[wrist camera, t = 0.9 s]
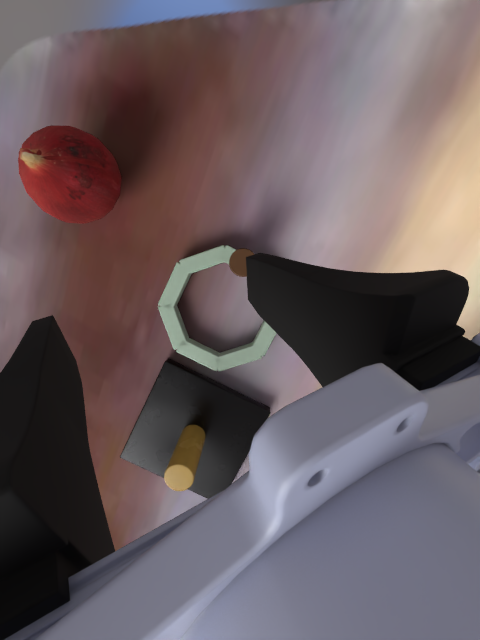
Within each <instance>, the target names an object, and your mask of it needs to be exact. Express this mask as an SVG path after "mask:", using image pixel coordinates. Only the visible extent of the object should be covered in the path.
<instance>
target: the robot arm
mask: <svg viewBox="0 0 480 640" xmlns="http://www.w3.org/2000/svg"><path fill="white" fill-rule="evenodd" d="M246 270H247V288H248V300H249V302H250V303H251V304H252V306H253V307H254V309H255V310H256V311H257V313H258V314H259V315H260V317H261V318H262V319H263V320H264V321H265V322H266V323H267V324H268V325H269V326H270V327H271V328H272V329H273V330H274V331H275V332H276V333H277V334H278V335H279V336H280V337H281V338H282V339H283V340H284V341H285V342H286V343H287V344H288V345H289V346H290V347H291V348H292V349H293V350H294V351H295V352H296V353H297V354H298V356H299V357H300V358H301V359H302V360H303V362H304V363H305V364H306V365H307V367H308V368H309V369H310V371H311V372H312V373H313V374H314V376H315V377H316V379H317V380H318V381H319V383H320V384H321V385H322V387H323V388H321V389H319V390H317V391H315V392H313V393H311V394H309V395H307V396H305V397H303V398H301V399H299V400H297V401H295V402H293V403H291V404H289V405H287V406H285V407H283V408H282V409H281V410H279V411H278V412H276V413H275V414H273V415H272V416H271V417H269V418H268V419H267V420H266V421H265V422H264V424H263V425H262V426H261V427H260V428H259V430H258V431H257V432H256V433H255V435H254V437H253V441H252V444H251V448H250V451H249V455H248V456H249V467H250V470H249V471H248V472H247V473H245V474H244V475H243V476H241V477H240V478H239V479H238V480H236V481H235V482H234V483H233V484H231V485H230V486H229V487H227V488H226V489H225V490H223V491H222V492H220V493H218V494H216V495H214V496H213V497H211V498H209V499H207V500H206V501H204V502H202V503H200V504H198V505H197V506H195V507H193V508H191V509H190V510H188V511H186V512H184V513H182V514H181V515H179V516H177V517H175V518H174V519H172V520H170V521H168V522H167V523H165V524H163V525H161V526H159V527H158V528H156V529H154V530H152V531H151V532H149V533H147V534H145V535H143V536H142V537H140V538H138V539H136V540H135V541H133V542H131V543H129V544H128V545H126V546H124V547H122V548H120V549H119V550H117V551H115V549H114V545H113V542H112V538H111V534H110V531H109V527H108V523H107V519H106V515H105V512H104V508H103V504H102V500H101V496H100V492H99V488H98V484H97V480H96V475H95V471H94V467H93V462H92V458H91V454H90V449H89V443H88V435H87V425H86V416H85V406H84V397H83V388H82V382H81V378H80V374H79V370H78V366H77V363H76V360H75V358H74V356H73V354H72V352H71V350H70V348H69V346H68V344H67V342H66V340H65V338H64V336H63V334H62V332H61V330H60V328H59V326H58V324H57V322H56V320H55V318H54V317H53V315H52V316H49V317H45V318H42V319H39V320H35V321H32V323H31V325H30V326H29V328H28V330H27V331H26V333H25V335H24V337H23V338H22V340H21V342H20V344H19V345H18V347H17V349H16V350H15V352H14V354H13V355H12V357H11V358H10V360H9V362H8V363H7V364H6V366H5V367H4V369H3V370H2V372H1V373H0V640H480V333H478V334H477V335H475V336H474V337H473V339H472V340H471V341H470V340H468V339H467V338H465V337H463V336H462V335H464V333H465V330H464V329H463V328H461V327H459V326H458V325H456V324H457V321H458V319H459V317H460V314H461V312H462V310H463V307H464V305H465V303H466V300H467V297H468V293H469V286H468V281H467V280H466V279H465V278H464V277H463V276H460V275H458V274H456V273H453V272H451V271H448V270H436V271H425V272H414V273H365V272H353V271H344V270H336V269H330V268H325V267H320V266H314V265H310V264H306V263H301V262H297V261H293V260H289V259H285V258H281V257H277V256H273V255H268V254H263V253H258V254H254V255H251V256H248V257H246Z"/></svg>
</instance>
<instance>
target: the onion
mask: <svg viewBox="0 0 480 640" xmlns="http://www.w3.org/2000/svg"><path fill="white" fill-rule="evenodd" d="M18 162H19V174H20V177H21V179H22V182H23V184H24V187H25V189H26V192H27V193H28V195H29V196H30V197H31V198H32V199H33V200H34V201H35V203H36V204H37V205H38V206H39V207H40V208H41V209H42V210H43V211H44V212H46V213H48V214H50V215H52V216H54V217H56V218H57V219H59V220H62V221H64V222H69V223H82V224H83V223H89V222H92V221H95V220H99V219H101V218H103V217H104V216H105V215H106V214H107V213H109V212H110V211H111V210H112V209H113V207H114V205H115V203H116V201H117V199H118V198H119V196H120V188H121V179H122V177H121V174H120V171H119V168H118V165H117V162H116V159H115V158H114V156H113V155H112V154H111V152H110V151H109V150H108V149H107V148H106V147H105V146H104V145H103V144H102V142H101V141H100V140H99V139H98V138H96V137H94V136H93V135H91V134H89V133H87V132H84V131H82V130H80V129H77V128H75V127H71V126H47V127H45V128H42V129H40V130H38V131H36V132H34V133H33V134H32V135H31V136H30V137H29V138H28V139H27V140H26V141H25V142H24V143H23V144H22V148H20V151H19V158H18Z"/></svg>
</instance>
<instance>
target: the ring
mask: <svg viewBox="0 0 480 640" xmlns="http://www.w3.org/2000/svg"><path fill="white" fill-rule="evenodd" d="M251 255H254V253H253V252H252V251H251V250H249V249H245V248H241V249H238V250H236V249H234V248H232V247H230V246H228V245H226V247H225V246H224V245H222V246H219V247H216V248H213V249H210V250H207V251H204V252H201V253H199V254H196V255H193V256H190V257H187V258H184V259H181V260H180V261H179V262H180V263H179V262H177V263H176V265H175V268H174V270H173V272H172V274H171V276H170V279H169V281H168V283H167V285H166V287H165V290H164V292H163V294H162V296H161V298H160V301H159V303H158V305H160V306H159V307H158V309H159V312H160V314H161V317H162V320H163V322H164V325H165V328H166V330H167V333H168V335H169V338H170V341H171V343H172V346H173V349H174V350H175V349H177V350H176V352H177V353H180V354H182V355H184V356H186V357H188V358H190V359H192V360H194V361H196V362H198V363H200V364H202V365H204V366H206V367H208V368H210V369H212V370H214V371H217V370H218V371H223V370H226V369H229V368H233V367H236V366H239V365H242V364H245V363H248V362H252V361H255V360H258V359H261V358H262V356H265V354H266V352H267V350H268V348H269V346H270V344H271V342H272V341H273V339H274V337H275V335H276V332H275V331H274V330H273V329H272V328H271V327H270V326H269V325H268V324H267V323H266V322H265V321H263V323H262V325H261V327H260V329H259V331H258V333H257V335H256V337H255V339H254V340H253V342H252V343H249V344H246V345H243V346H240V347H237V348H234V349H230V350H227V351H224V352H221V353H219V352H217V351H215V350H213V349H211V348H209V347H207V346H205V345H203V344H201V343H199V342H197V341H194V340H192V339H190V338H189V336H188V334H187V331H186V328H185V326H184V323H183V320H182V317H181V315H180V312H179V309H178V307H177V304H178V302H179V300H180V298H181V296H182V293H183V291H184V289H185V287H186V285H187V283H188V280H189V278H190V276H191V274H192V273H195V272H198V271H201V270H204V269H206V268H209V267H212V266H215V265H218V264H221V263H224V262H225V263H227V264H229V266H230V269H231V270H232V272H233V273H234V274H236V275H237V276H240V277H246V276H247V270H246V257H248V256H251Z"/></svg>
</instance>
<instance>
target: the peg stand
mask: <svg viewBox="0 0 480 640" xmlns="http://www.w3.org/2000/svg"><path fill="white" fill-rule="evenodd" d="M269 414H270V407H268V406H266V405H264V404H262V403H259V402H257V401H255V400H253V399H251V398H249V397H247V396H245V395H243V394H241V393H239V392H237V391H235V390H233V389H231V388H229V387H226V386H224V385H222V384H220V383H218V382H216V381H214V380H212V379H210V378H208V377H206V376H204V375H202V374H200V373H198V372H196V371H194V370H191V369H189V368H187V367H185V366H183V365H181V364H179V363H177V362H175V361H173V360H171V359H167V360H166V361H165V363H164V365H163V367H162V369H161V371H160V373H159V375H158V377H157V379H156V382H155V384H154V386H153V388H152V390H151V392H150V394H149V396H148V399H147V401H146V403H145V405H144V407H143V409H142V411H141V413H140V416H139V418H138V420H137V422H136V424H135V426H134V428H133V430H132V432H131V435H130V437H129V439H128V441H127V443H126V445H125V447H124V449H123V452H122V454H121V456H120V458H122V459H124V460H127V461H129V462H131V463H133V464H135V465H137V466H139V467H142V468H144V469H146V470H148V471H150V472H152V473H154V474H156V475H159V476H161V477H163V478H164V479H165V482H166V484H167V485H168V487H170V488H171V489H173V490H175V491H184V490H187V489H188V490H191V491H193V492H195V493H197V494H199V495H201V496H203V497H206V498H208V499H209V498H211V497H213V496H214V495H216V494H218V493H220V492H222V491H223V490H225V489H226V488H227V487H229V486H230V485H231V484H232V482H233V480H234V478H235V476H236V474H237V473H238V471H239V469H240V467H241V465H242V464H243V462H244V460H245V458H246V456H247V454H248V453H249V451H250V448H251V444H252V441H253V437H254V435H255V433H256V432H257V431H258V430H259V428H260V427H261V426H262V425H263V424H264V422H265V421H266V420H267V418H268V416H269Z"/></svg>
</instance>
